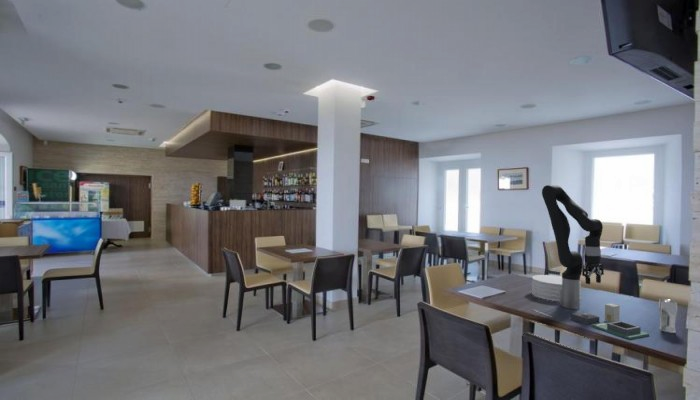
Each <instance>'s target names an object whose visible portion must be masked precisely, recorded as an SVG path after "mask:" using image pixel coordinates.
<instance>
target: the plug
mask: <svg viewBox="0 0 700 400" xmlns="http://www.w3.org/2000/svg"><path fill="white" fill-rule="evenodd" d="M620 309H621V307H620V305H619V304H618V305H617V304H614V303H604V322H609V321H611V322H618V321H620Z"/></svg>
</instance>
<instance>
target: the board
mask: <svg viewBox="0 0 700 400" xmlns="http://www.w3.org/2000/svg"><path fill="white" fill-rule="evenodd" d="M590 326H591V327H592V328H594V329H598V330H601V331H603V332H606V333H609V334H612V335H615V336H618V337H621V338H624V339H627V340H634V339H640V338H645V337H649V336H650V333H649V332H648V333H647V332H645V331H641V329H642V328H641V326H638V325H635V324H631V323H629V322H625V321H623V320H622V321H621V320H619V321H618V322H611V321H609V322H606V321H604V322H599V323H594V324H590Z"/></svg>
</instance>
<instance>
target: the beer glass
mask: <svg viewBox="0 0 700 400" xmlns="http://www.w3.org/2000/svg"><path fill="white" fill-rule="evenodd" d="M658 300H659V301H658V314H659V320H660V325H659V327H658V328H659V329H658V330H660V331H661V332H663V333H669V334H676V332H677V331H676V325H675V324H676V320H677V316H678V302H677V301H676V300H673V299H668V298H659V299H658Z"/></svg>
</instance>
